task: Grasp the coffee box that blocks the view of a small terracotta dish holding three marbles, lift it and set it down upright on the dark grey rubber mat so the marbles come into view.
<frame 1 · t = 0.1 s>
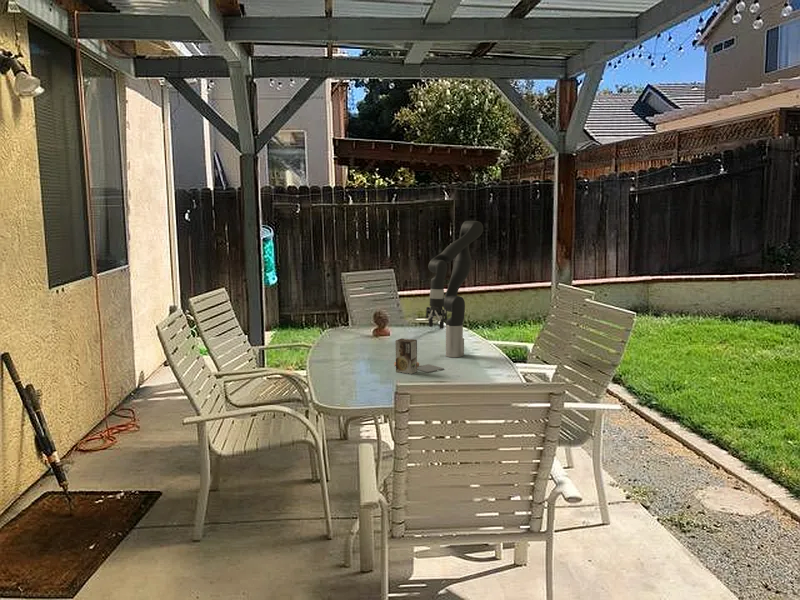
hand: (435, 327, 366), 17 cm above the table, tool pointing down, fingers open, 8 cm apart
marble a: (407, 361, 354), point 2 cm above the table, touching marble dish
marble c: (408, 363, 350), point 2 cm above the table, touching marble dish
rubber mat: (428, 369, 346), on the table
marble dish: (406, 366, 352), on the table
marble b: (401, 362, 351), point 2 cm above the table, touching marble dish
coffee box: (406, 372, 341), on the table
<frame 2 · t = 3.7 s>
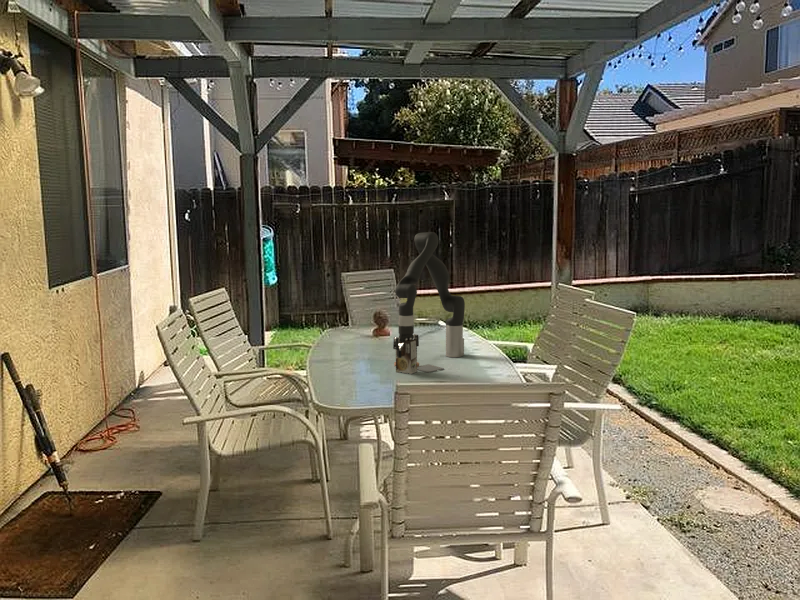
hand: (406, 356, 340), 8 cm above the table, tool pointing down, fingers open, 8 cm apart
nothing on the table moved.
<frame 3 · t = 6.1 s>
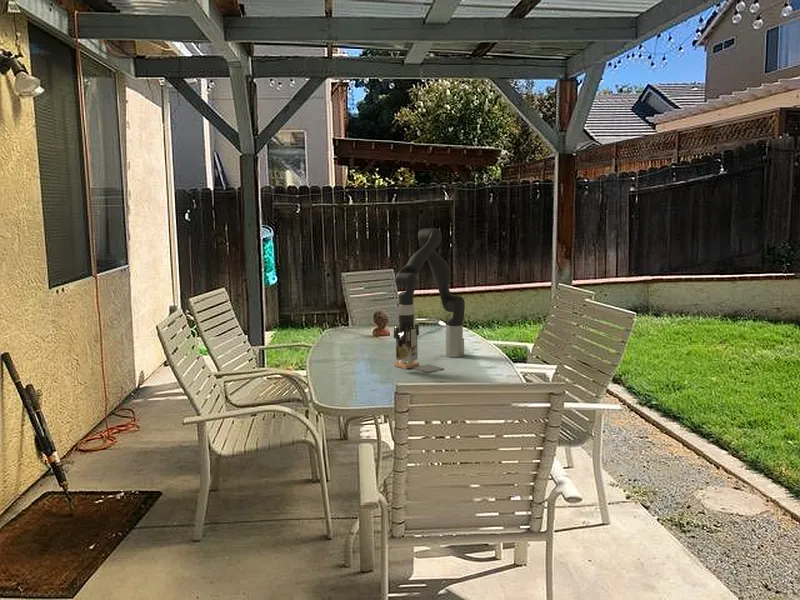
hand: (406, 345, 339), 13 cm above the table, tool pointing down, fingers closed on coffee box, 8 cm apart
coffee box: (406, 360, 340), point 6 cm above the table, touching gripper
everything else where it was.
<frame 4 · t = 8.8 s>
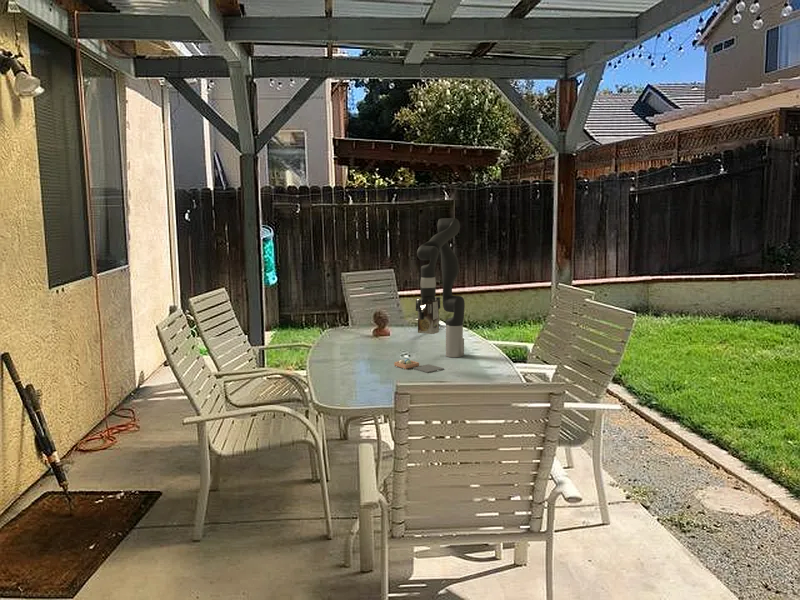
hand: (428, 318, 343), 26 cm above the table, tool pointing down, fingers closed on coffee box, 8 cm apart
coffee box: (428, 333, 344), point 18 cm above the table, touching gripper
everything else where it was.
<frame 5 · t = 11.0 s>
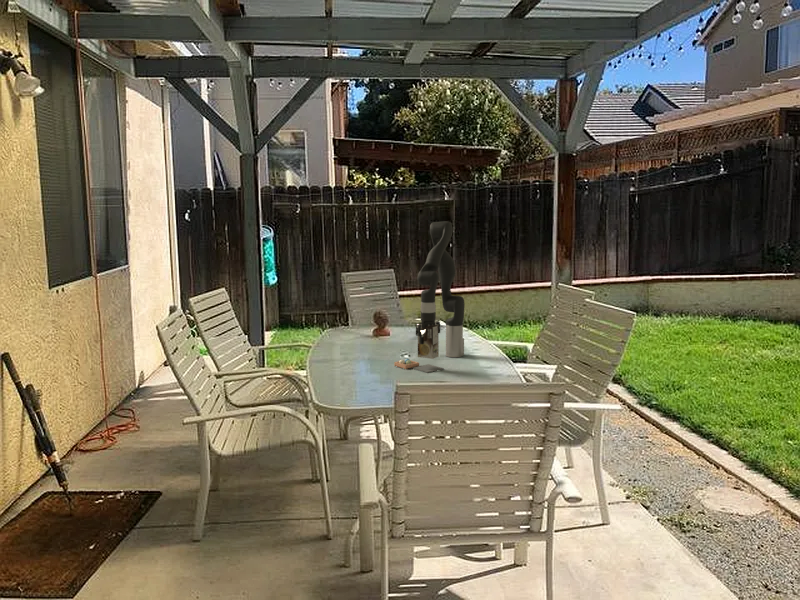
hand: (428, 343, 344), 13 cm above the table, tool pointing down, fingers closed on coffee box, 8 cm apart
coffee box: (428, 357, 345), point 6 cm above the table, touching gripper
everything else where it was.
when the fingers open (9 cm above the table, at t = 13.1 s): coffee box drops 1 cm, resting on rubber mat.
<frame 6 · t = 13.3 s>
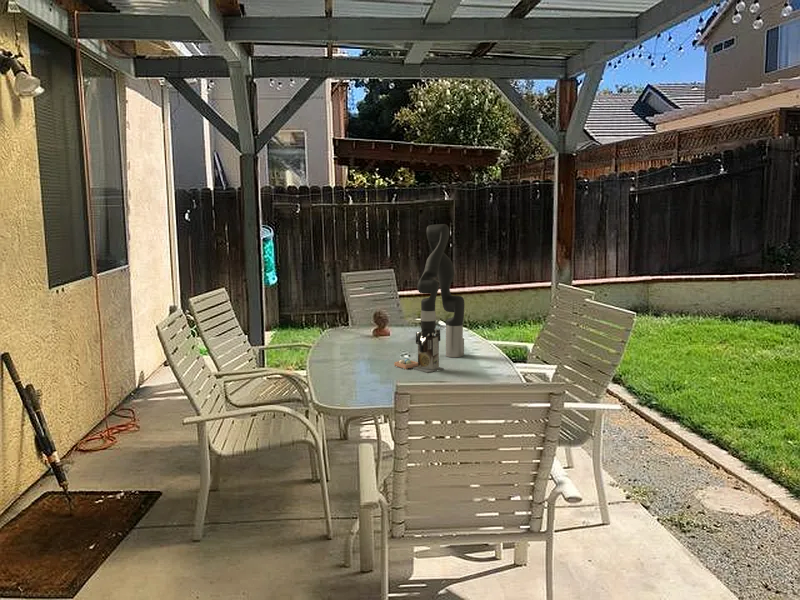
hand: (428, 351, 345), 9 cm above the table, tool pointing down, fingers open, 8 cm apart
coffee box: (428, 368, 346), resting on rubber mat, touching gripper
everything else where it was.
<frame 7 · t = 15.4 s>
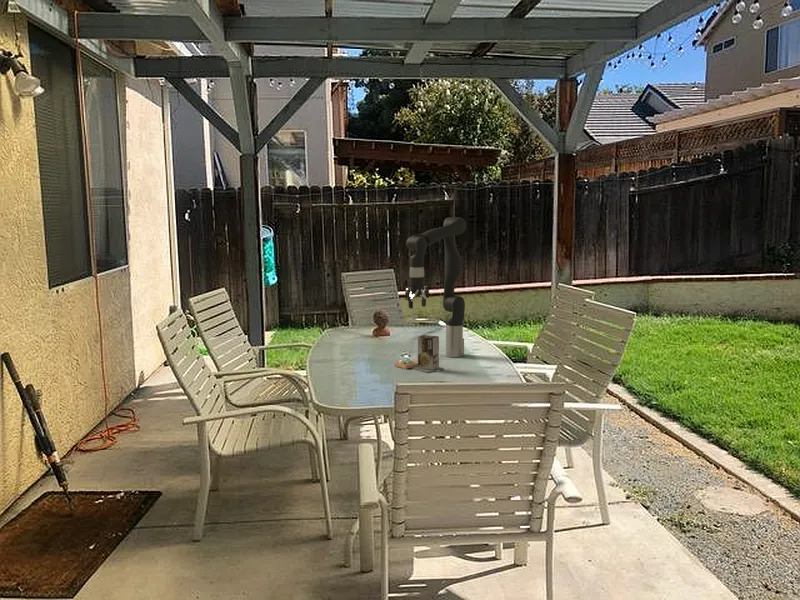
hand: (417, 307, 351), 30 cm above the table, tool pointing down, fingers open, 8 cm apart
coffee box: (428, 368, 346), resting on rubber mat
everything else where it was.
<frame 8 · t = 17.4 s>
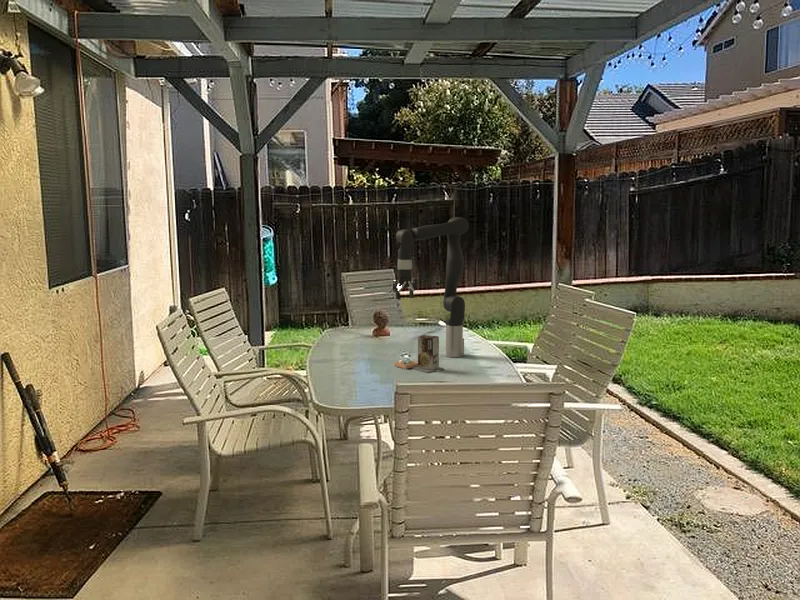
hand: (404, 298, 361), 33 cm above the table, tool pointing down, fingers open, 8 cm apart
nothing on the table moved.
at the end: coffee box 0.2 cm off-centre on the rubber mat, point 0.4 cm above the rubber mat's base; coffee box tilted 0°; the gripper is holding nothing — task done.
